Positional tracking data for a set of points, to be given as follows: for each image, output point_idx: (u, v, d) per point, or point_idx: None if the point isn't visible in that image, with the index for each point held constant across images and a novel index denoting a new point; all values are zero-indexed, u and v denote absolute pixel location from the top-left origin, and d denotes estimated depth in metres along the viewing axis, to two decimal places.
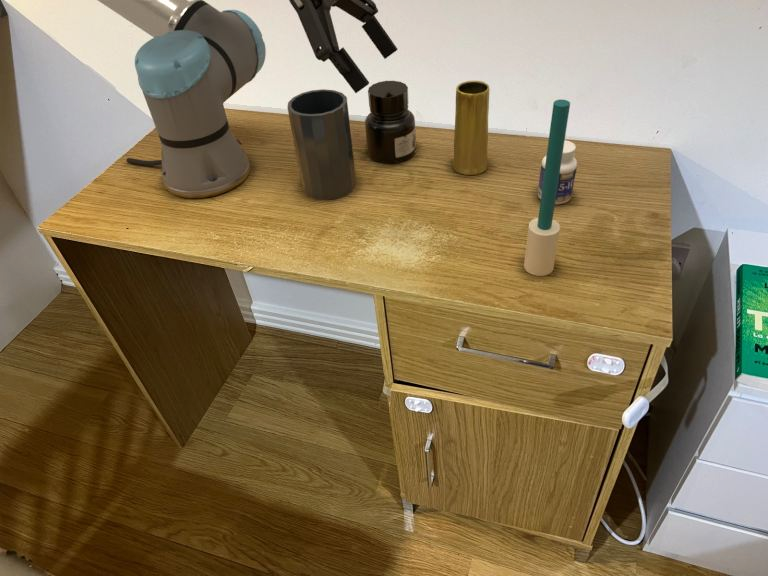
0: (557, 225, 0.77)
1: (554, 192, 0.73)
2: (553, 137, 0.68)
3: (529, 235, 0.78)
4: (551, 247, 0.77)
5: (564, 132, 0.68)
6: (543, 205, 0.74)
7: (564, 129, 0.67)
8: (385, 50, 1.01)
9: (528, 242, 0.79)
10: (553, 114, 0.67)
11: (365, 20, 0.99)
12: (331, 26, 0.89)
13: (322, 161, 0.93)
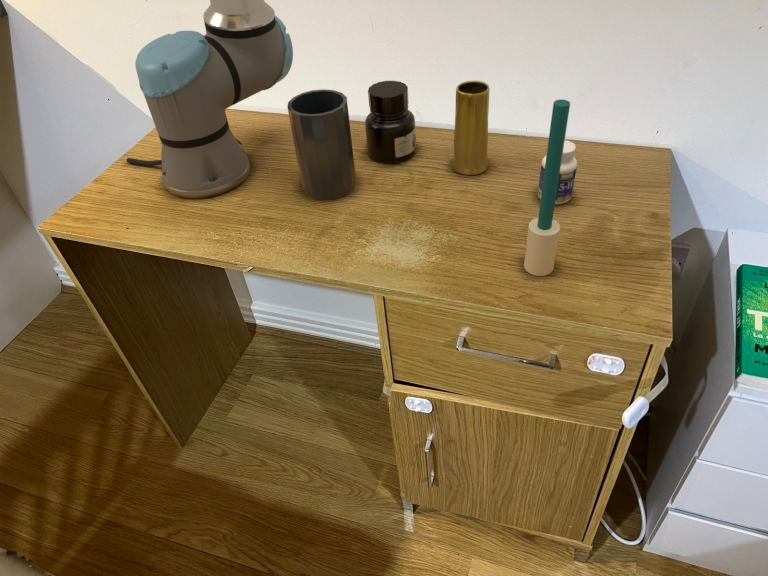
0: (557, 225, 0.77)
1: (554, 192, 0.73)
2: (553, 137, 0.68)
3: (529, 235, 0.78)
4: (551, 247, 0.77)
5: (564, 132, 0.68)
6: (543, 205, 0.74)
7: (564, 129, 0.67)
8: None
9: (528, 242, 0.79)
10: (553, 114, 0.67)
11: None
12: None
13: (322, 161, 0.93)
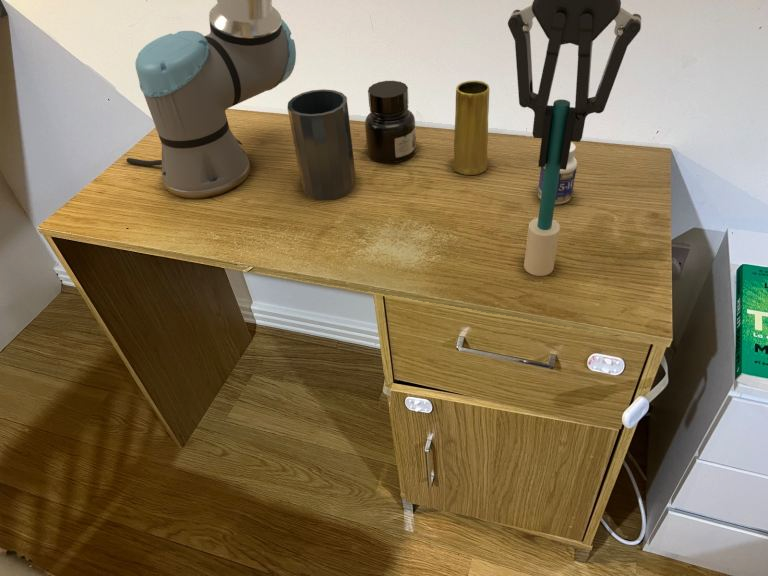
0: (557, 225, 0.77)
1: (554, 192, 0.73)
2: (553, 137, 0.68)
3: (529, 235, 0.78)
4: (551, 247, 0.77)
5: (564, 132, 0.68)
6: (543, 205, 0.74)
7: (564, 129, 0.67)
8: None
9: (528, 242, 0.79)
10: (553, 114, 0.67)
11: None
12: (547, 79, 0.64)
13: (322, 161, 0.93)
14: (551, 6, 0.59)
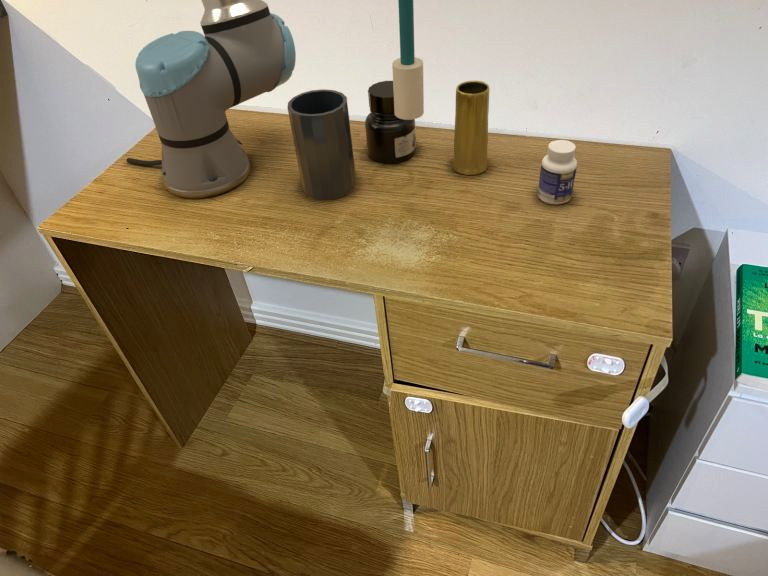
0: (420, 61, 0.76)
1: (410, 19, 0.72)
2: None
3: (393, 72, 0.77)
4: (415, 84, 0.76)
5: None
6: (401, 35, 0.73)
7: None
8: None
9: (393, 81, 0.77)
10: None
11: None
12: None
13: (322, 161, 0.93)
14: None
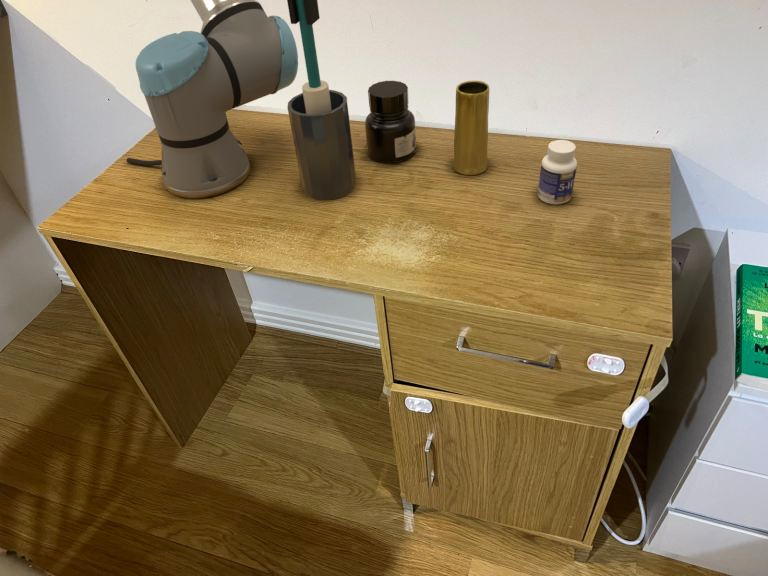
0: (326, 84, 0.89)
1: (311, 49, 0.85)
2: None
3: (303, 94, 0.90)
4: (321, 104, 0.89)
5: None
6: (306, 63, 0.87)
7: None
8: None
9: (304, 101, 0.91)
10: None
11: None
12: None
13: (322, 161, 0.93)
14: None
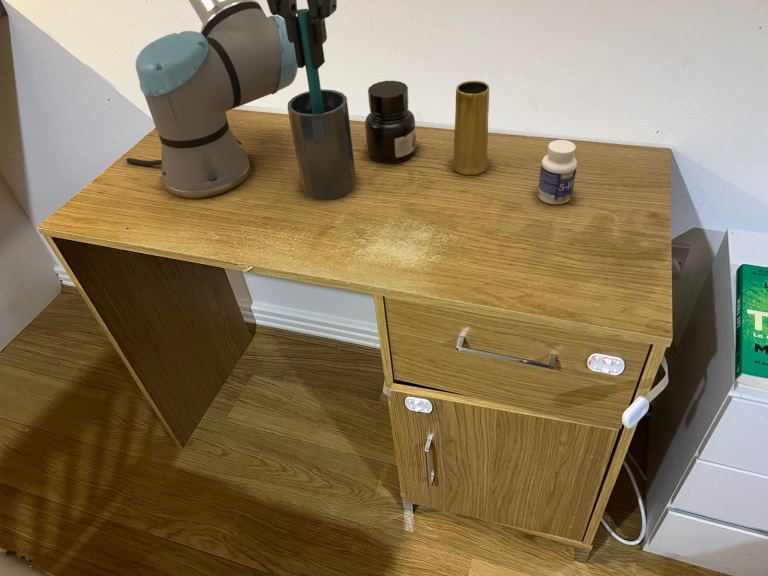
0: None
1: (317, 91, 0.89)
2: (302, 41, 0.84)
3: None
4: None
5: None
6: (312, 103, 0.91)
7: None
8: None
9: None
10: (298, 20, 0.83)
11: None
12: None
13: (322, 161, 0.93)
14: None
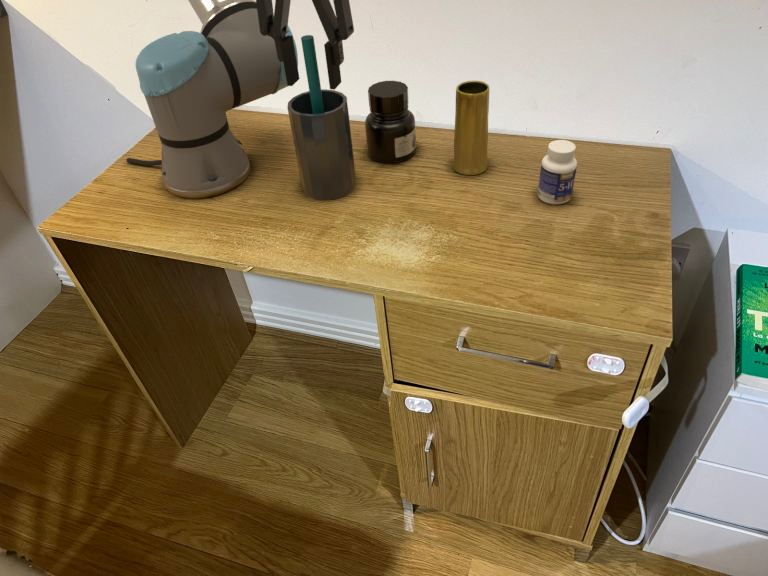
0: None
1: None
2: (306, 66, 0.87)
3: None
4: None
5: (314, 61, 0.86)
6: None
7: (313, 59, 0.86)
8: None
9: None
10: (302, 46, 0.85)
11: None
12: (279, 13, 0.82)
13: (322, 161, 0.93)
14: None
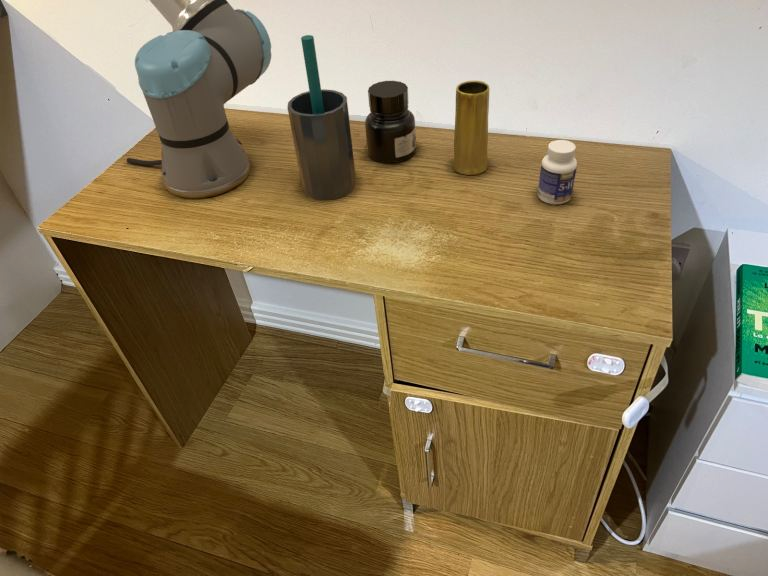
0: None
1: None
2: (306, 66, 0.87)
3: None
4: None
5: (314, 61, 0.86)
6: None
7: (313, 59, 0.86)
8: None
9: None
10: (302, 46, 0.85)
11: None
12: None
13: (322, 161, 0.93)
14: None
